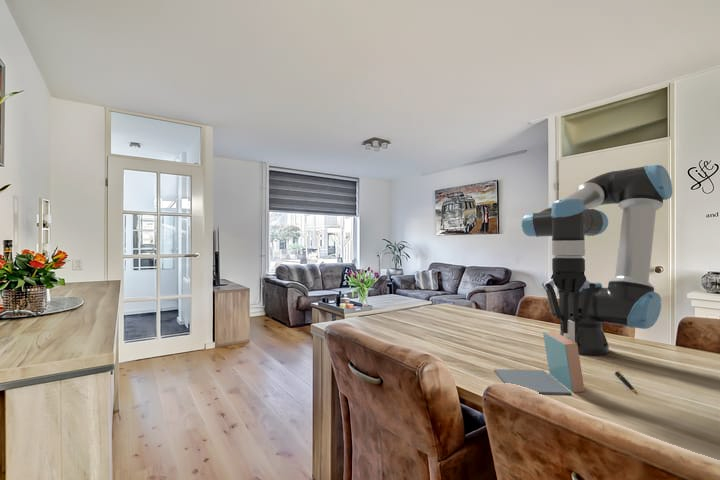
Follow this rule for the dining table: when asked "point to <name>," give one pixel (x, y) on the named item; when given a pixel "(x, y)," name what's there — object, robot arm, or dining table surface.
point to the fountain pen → (624, 380)
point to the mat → (532, 380)
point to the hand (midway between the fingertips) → (569, 345)
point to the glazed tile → (564, 361)
